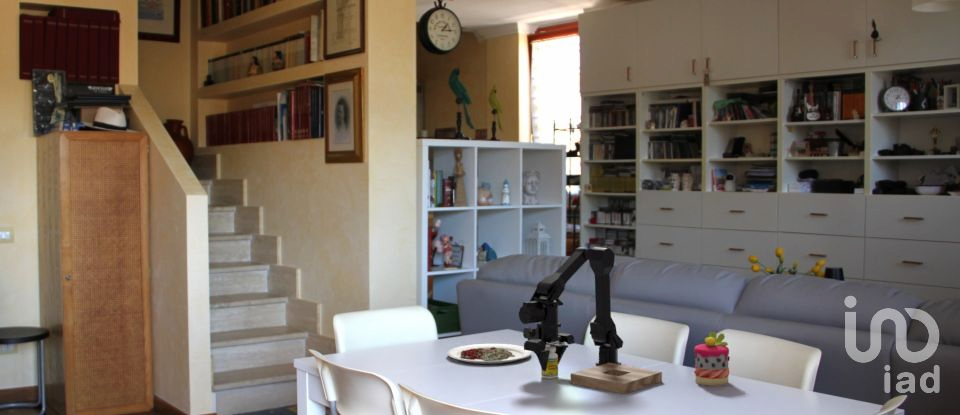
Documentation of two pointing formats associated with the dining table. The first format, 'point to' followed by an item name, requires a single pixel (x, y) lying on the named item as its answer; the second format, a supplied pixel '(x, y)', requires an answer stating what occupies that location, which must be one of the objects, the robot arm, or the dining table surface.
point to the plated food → (489, 353)
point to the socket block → (616, 377)
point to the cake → (712, 361)
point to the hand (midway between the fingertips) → (549, 369)
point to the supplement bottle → (551, 364)
